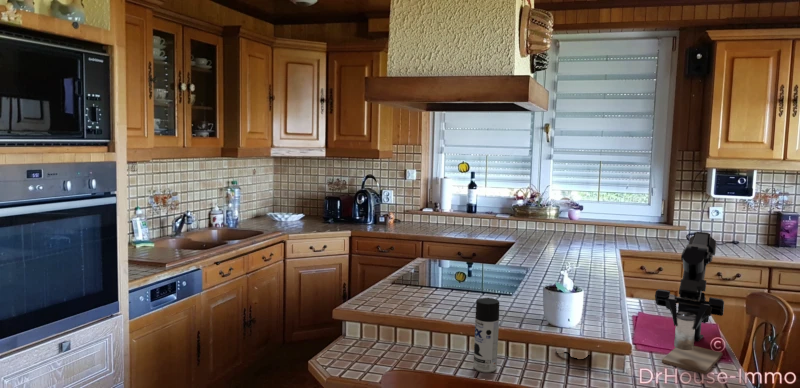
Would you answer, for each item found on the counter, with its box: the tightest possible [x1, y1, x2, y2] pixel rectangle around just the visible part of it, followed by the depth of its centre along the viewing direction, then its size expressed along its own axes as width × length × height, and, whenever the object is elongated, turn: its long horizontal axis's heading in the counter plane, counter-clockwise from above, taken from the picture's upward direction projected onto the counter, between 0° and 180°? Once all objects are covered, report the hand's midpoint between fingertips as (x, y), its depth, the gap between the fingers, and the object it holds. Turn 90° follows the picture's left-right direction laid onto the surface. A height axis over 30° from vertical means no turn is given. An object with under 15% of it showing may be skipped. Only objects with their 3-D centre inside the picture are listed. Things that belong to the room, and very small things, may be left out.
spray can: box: [472, 297, 500, 374], centre depth 173 cm, size 7×7×20 cm
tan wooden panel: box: [661, 345, 723, 375], centre depth 184 cm, size 18×12×1 cm, turn 139°
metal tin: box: [673, 311, 697, 350], centre depth 182 cm, size 5×5×10 cm
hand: (684, 327), depth 180 cm, fingers closed on metal tin, 5 cm apart
